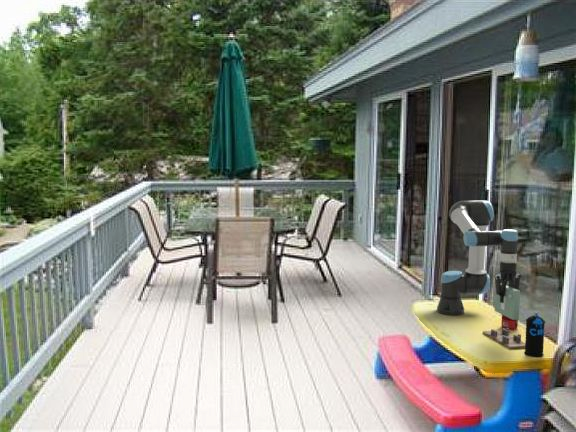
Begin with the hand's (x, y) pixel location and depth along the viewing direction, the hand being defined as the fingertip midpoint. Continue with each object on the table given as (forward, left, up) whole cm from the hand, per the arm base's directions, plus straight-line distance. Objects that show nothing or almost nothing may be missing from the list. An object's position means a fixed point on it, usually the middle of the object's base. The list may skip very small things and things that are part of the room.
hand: (506, 308), depth 287 cm
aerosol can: (+20, +2, -16) cm, 26 cm away
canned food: (-18, +14, -16) cm, 28 cm away
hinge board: (0, 0, -16) cm, 16 cm away
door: (0, 0, -3) cm, 3 cm away
